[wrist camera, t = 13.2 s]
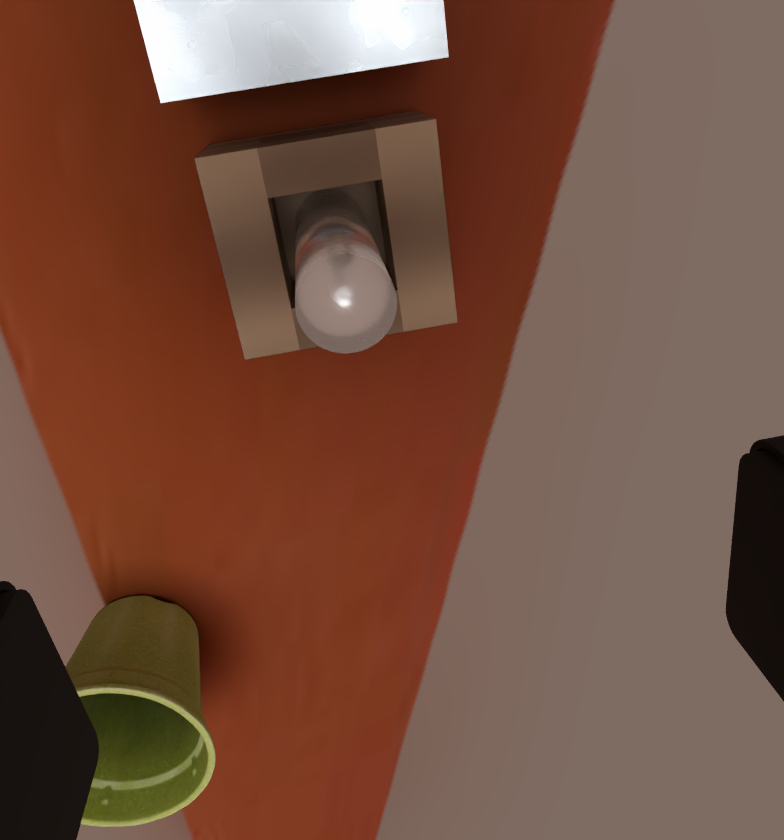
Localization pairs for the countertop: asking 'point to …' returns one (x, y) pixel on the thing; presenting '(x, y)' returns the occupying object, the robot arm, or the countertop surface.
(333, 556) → the countertop surface
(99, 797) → the plant pot
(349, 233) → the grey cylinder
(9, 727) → the robot arm
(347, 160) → the frame
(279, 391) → the countertop surface
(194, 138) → the countertop surface
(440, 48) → the socket block
